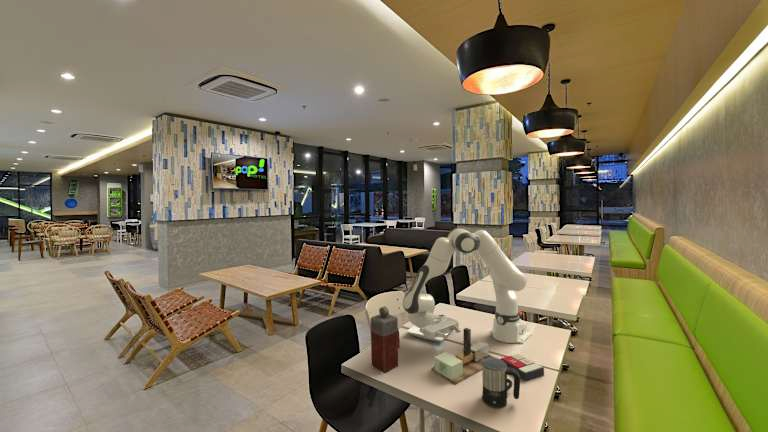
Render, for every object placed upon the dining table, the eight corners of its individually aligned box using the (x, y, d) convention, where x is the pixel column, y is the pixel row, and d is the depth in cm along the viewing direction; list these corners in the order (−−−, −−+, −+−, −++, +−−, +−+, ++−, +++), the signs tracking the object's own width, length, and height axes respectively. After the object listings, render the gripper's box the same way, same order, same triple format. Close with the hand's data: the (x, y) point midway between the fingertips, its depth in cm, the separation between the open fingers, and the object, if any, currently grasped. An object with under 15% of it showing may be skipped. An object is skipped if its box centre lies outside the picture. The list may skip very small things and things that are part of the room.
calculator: (517, 352, 155) (544, 365, 141) (517, 361, 155) (544, 375, 142) (499, 357, 151) (525, 371, 137) (499, 366, 151) (525, 382, 137)
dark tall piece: (480, 350, 159) (480, 321, 158) (486, 353, 157) (486, 323, 156) (455, 362, 149) (455, 331, 148) (461, 365, 146) (461, 333, 145)
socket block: (445, 364, 150) (445, 352, 149) (462, 374, 142) (462, 361, 141) (434, 370, 146) (434, 357, 145) (451, 380, 138) (451, 366, 137)
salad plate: (456, 331, 188) (456, 325, 188) (442, 346, 170) (442, 339, 170) (422, 323, 200) (422, 318, 199) (406, 337, 182) (406, 331, 181)
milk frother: (485, 408, 121) (485, 370, 120) (473, 383, 137) (473, 349, 136) (523, 408, 121) (524, 369, 120) (507, 382, 137) (508, 348, 136)
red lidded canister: (402, 364, 153) (401, 305, 151) (384, 373, 145) (383, 312, 143) (388, 357, 159) (387, 301, 157) (371, 365, 152) (370, 307, 150)
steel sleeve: (479, 351, 161) (479, 341, 161) (489, 356, 156) (489, 345, 156) (466, 358, 155) (466, 347, 155) (476, 363, 150) (476, 352, 150)
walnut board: (474, 349, 165) (474, 348, 165) (498, 361, 154) (498, 359, 154) (431, 370, 147) (431, 368, 147) (455, 384, 136) (455, 382, 136)
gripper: (417, 323, 162) (437, 333, 151) (446, 313, 174) (466, 321, 163) (417, 336, 162) (437, 346, 151) (446, 325, 174) (466, 334, 163)
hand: (453, 333), depth 157 cm, fingers open, 8 cm apart
